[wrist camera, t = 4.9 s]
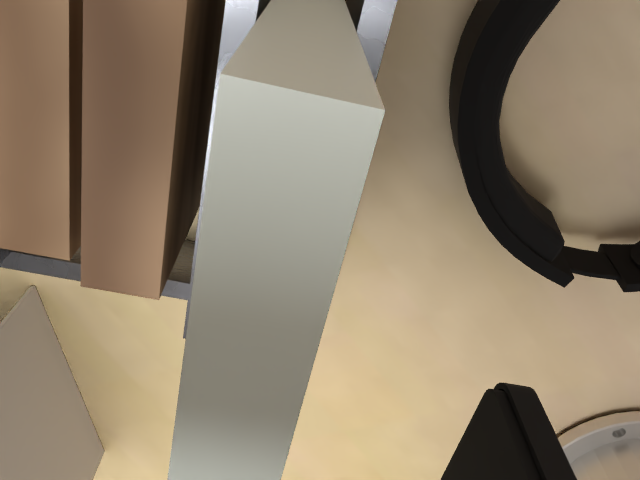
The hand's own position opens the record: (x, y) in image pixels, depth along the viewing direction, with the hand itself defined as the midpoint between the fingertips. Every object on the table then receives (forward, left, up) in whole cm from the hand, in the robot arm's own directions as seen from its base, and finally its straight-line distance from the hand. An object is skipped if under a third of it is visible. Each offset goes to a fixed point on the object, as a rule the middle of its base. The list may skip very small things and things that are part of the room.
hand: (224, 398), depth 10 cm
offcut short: (+9, 0, -20) cm, 21 cm away
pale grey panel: (0, 0, -19) cm, 19 cm away
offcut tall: (+5, 0, -19) cm, 20 cm away
